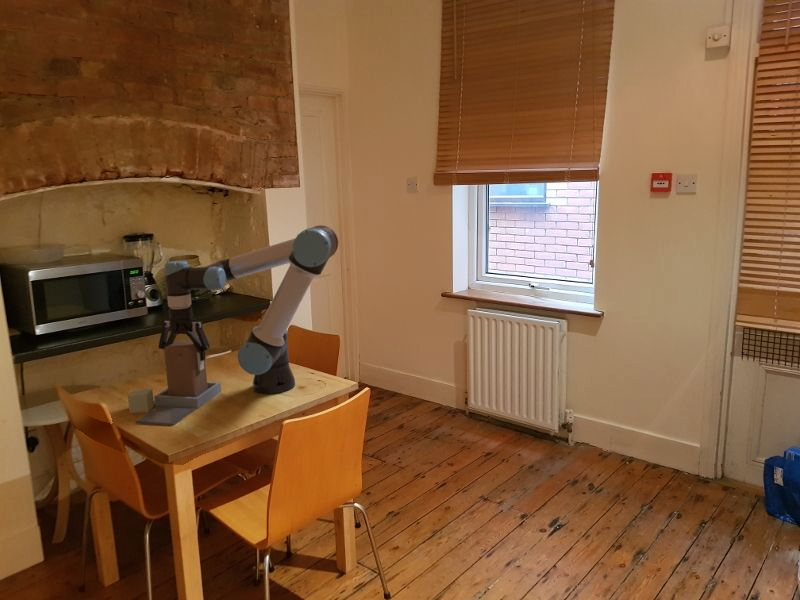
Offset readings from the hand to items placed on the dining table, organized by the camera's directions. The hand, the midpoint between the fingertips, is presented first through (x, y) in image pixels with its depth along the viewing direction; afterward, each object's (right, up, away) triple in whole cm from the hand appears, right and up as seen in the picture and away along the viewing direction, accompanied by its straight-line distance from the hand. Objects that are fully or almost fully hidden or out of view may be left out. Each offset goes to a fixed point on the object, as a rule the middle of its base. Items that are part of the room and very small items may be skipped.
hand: (186, 368), depth 213 cm
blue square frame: (0, -11, +2) cm, 11 cm away
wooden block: (0, -11, +2) cm, 11 cm away
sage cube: (-13, -13, -6) cm, 19 cm away
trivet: (-2, -14, -13) cm, 19 cm away
